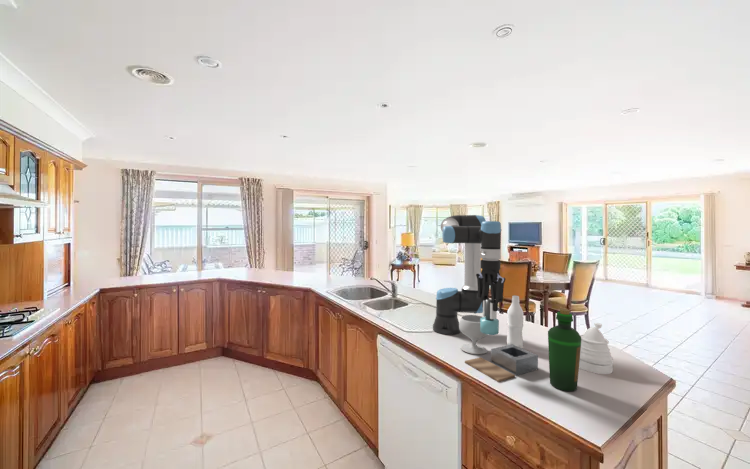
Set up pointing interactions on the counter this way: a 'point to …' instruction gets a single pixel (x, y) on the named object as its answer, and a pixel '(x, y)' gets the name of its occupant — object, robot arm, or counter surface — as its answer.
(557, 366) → the bottle
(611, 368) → the honey pot
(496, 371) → the walnut mat
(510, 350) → the box
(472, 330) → the chalice
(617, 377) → the counter surface
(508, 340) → the water bottle
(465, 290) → the robot arm
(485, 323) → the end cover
